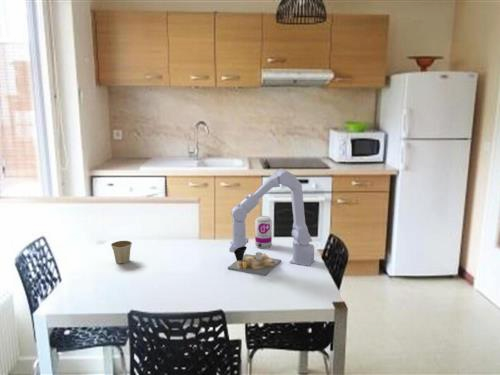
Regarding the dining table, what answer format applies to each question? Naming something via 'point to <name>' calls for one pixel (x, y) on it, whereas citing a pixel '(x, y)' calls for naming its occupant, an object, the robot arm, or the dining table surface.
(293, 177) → the robot arm
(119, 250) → the flower pot
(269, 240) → the supplement can
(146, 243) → the dining table surface
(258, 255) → the base plate
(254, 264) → the wooden beam assembly
